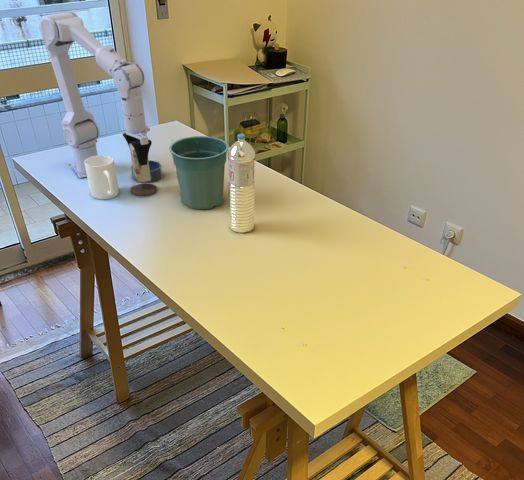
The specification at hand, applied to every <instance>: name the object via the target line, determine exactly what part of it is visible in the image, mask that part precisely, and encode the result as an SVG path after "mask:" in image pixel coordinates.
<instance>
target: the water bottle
mask: <svg viewBox="0 0 524 480" xmlns="http://www.w3.org/2000/svg"><path fill="white" fill-rule="evenodd" d="M236 139H237V140H236V141H235V142H234V143H233V144H232V145H230V146H229V148H228V151H227V160H228V161H227V162H228V183H227V184H228V207H229V208H228V217H229V218H228V219H229V227H230V230H232V231H233V232H235V233H239V234H241V233H242V234H243V233H244V234H245V233H248V232H252V231H253V230H254V228H255V223H256V222H255V220H256V219H255V213H256V212H255V211H256V210H255V209H256V208H255V206H256V205H255V204H256V203H255V199H256V197H255V196H256V190H255V188H256V182H255V158H256V150H255V149H254V147H253V146H252V145H251V144H250V143H249V142H248V141H246V135H245V133H238V134H237V137H236Z"/></svg>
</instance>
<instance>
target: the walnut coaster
mask: <svg viewBox="0 0 524 480" xmlns="http://www.w3.org/2000/svg"><path fill="white" fill-rule="evenodd" d="M130 193H131V194H132V195H133V196H136V197H150V196H153V195H155V194H156V193H158V187H157V186H156V185H155V184H153V183H137V184H135V185H133V186H132V187H130Z"/></svg>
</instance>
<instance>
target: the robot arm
mask: <svg viewBox="0 0 524 480" xmlns="http://www.w3.org/2000/svg"><path fill="white" fill-rule="evenodd" d="M38 27H39V31H40V34H41V38H42V40H43V44H44V47H45V49H46V50H47V52H48V57H49V60H50V63H51V67H52V69H53V73H54V76H55V79H56V82H57V87H58V89H59V93H60V95H61V98H62V101H63V105H64V109H65V111H66V113H65V115H64V117H63V118H62V120H61V126H62V132H63V133H62V134H63V138H64V141H65V142H66V143H67V144H68V145H69V146H70V147H71V151H72V155H73V160H74V163H75V165H73V166H72V169H73V170H74V171H75V174H77V176H78V178H79V179H83V178H87V173H86V168H85V163H84V161H85V160H86V159H87V158H89V157H93V156H99V154H98V149H97V143H98V138H99V137H100V128H99V126H98V123H97V122H96V120H95V118H94V115H93V114H92V113H91V112H89V111H88V110H85V106H84V102H83V99H82V96H81V92H80V88H79V85H78V82H77V77H76V75H75V71H74V68H73V65H72V61H71V58H70V55H69V50H70V49H71V46H72V45H73V44H74V43H77V44H78V45H79V46H80V47H82V48H83V49H84V50H86V51H87V52H88V53H89V54H91V55H92V56H94V57H95V62H96V64H97V65H98V67H100V68H101V69H102V70H103V71H104V72H105V73H106V74H107V75H109V76H110V77H111V78H112V81H113V84H114V86H115V87H116V89H117V95H118V96H119V97H120V103H121V109H122V116H123V122H124V132H123V133H122V136H123V138H124V140H125V141H126V144H127V145H128V148H129V149H130V146H129V144H130V143H131V144H132V146H133V148H134V150H135V152H136V155H137V159H138V162H139V164H140V166H142V165H147V161H148V160H149V153H150V149H151V146H152V145H153V144H152V140H151V139H149V137H148V135H147V134H148V132H150V131H151V128H150V126H148V125H147V126H146V119H145V110H144V102H143V94H142V86H143V85H144V83H145V73H144V71H143V69H142V67H141V66H140V65H139V64H138V63H137V62H130V61H127V59H125V58H124V57H122V56H121V54H119V52H117V51H116V49H115V48H114V47H113V46H112V45H103V44H102V43H101V42H100V41H99V40H98V39H97V38H96V37H95V36H94V35H93V34H92V33H91V32H90V31H89V30H88V29H87V28H86V27H85V25H84V21H83V19H82V18H81V17H80V16H79V15H78V14H77V13H76V12H74V11H70V10H69V11H68V12H62V13H58V14H51V15H43V17H42V18H41V19H40V22H39V25H38Z"/></svg>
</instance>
